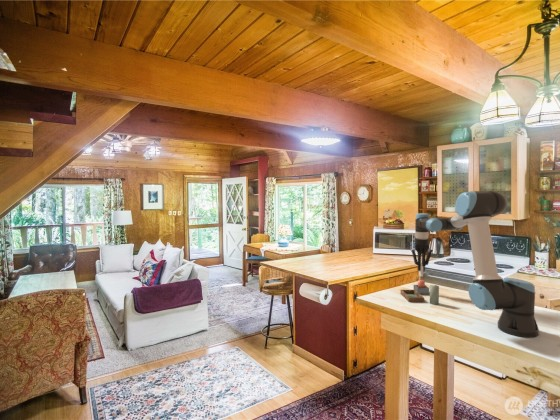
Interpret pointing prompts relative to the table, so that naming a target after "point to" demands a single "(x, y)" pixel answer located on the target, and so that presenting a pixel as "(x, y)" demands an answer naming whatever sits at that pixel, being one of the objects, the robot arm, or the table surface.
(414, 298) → the wooden tray
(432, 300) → the cell
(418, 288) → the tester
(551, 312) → the table surface
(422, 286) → the coral capsule
